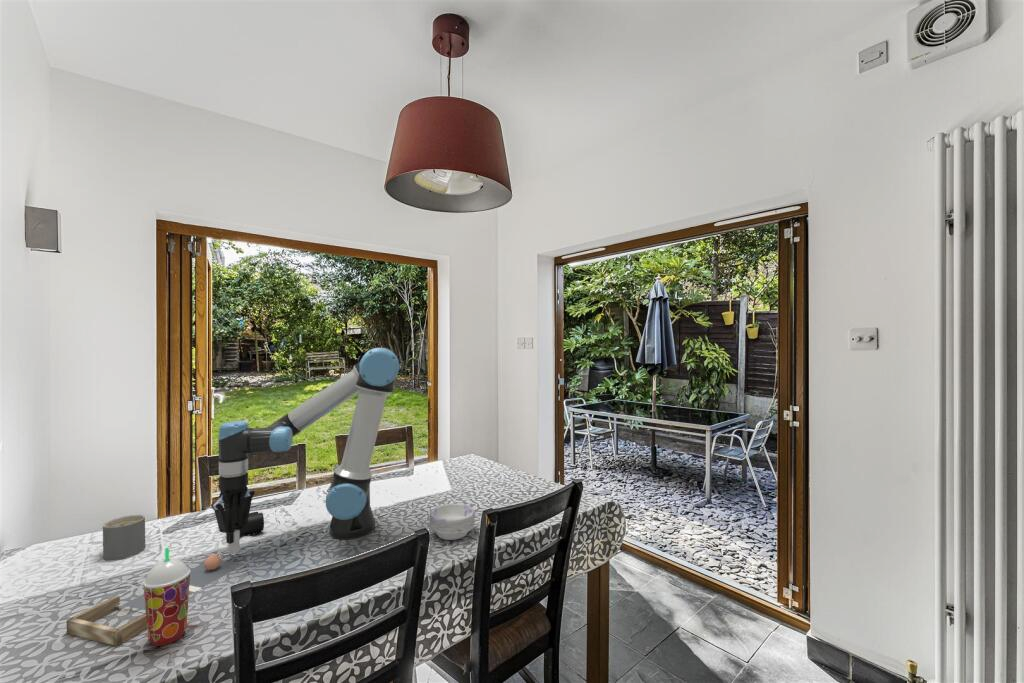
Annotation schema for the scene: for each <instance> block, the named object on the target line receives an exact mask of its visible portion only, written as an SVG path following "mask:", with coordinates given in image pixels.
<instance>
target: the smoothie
mask: <svg viewBox="0 0 1024 683" xmlns="http://www.w3.org/2000/svg"><path fill="white" fill-rule="evenodd" d="M169 548H170V547H165V548H164V560H161V561H160V562H158V563H157V564H154V566H153V567H152V568H150V570H149V572H148V573H147V575H146V576H145V578H144V580H143V581H142V586H143V594H144V596H145V607H146V610H145V613H146V618H147V629H146V630H147V638H148V639H147V640H148V641H149V642H150V643H151V645H152V646H156V647H159V646H160V647H163V646H166V645H169V643H170V644H171V643H174V642H176V641H178V639H180V638H182V636H183V635H184V633H185V630H186V629H187V627H188V613H189V598H190V597H189V596H190V595H189V583H190V572H191V571H190V570H191V568H189V566H188V565H187V563H185V562H184V561H183V560H181V559H179V558H170V549H169ZM162 645H163V646H162Z"/></svg>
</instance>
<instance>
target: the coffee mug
mask: <svg viewBox="0 0 1024 683" xmlns="http://www.w3.org/2000/svg"><path fill="white" fill-rule="evenodd" d="M145 549H146V516H145V515H142V514H130V515H124V516H120V517H115V518H113V519H111V520H108V521H106V522H104V523H103V524H102V558H103V560H105V561H119V560H123V559H127V558H131V557H134V556H136V555H139V554H140V553H142V552H144V551H145Z"/></svg>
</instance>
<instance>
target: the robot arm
mask: <svg viewBox="0 0 1024 683" xmlns="http://www.w3.org/2000/svg"><path fill="white" fill-rule="evenodd" d="M399 370H400V361H399V358H398V356H397V355H396V353H395V352H394V351H393V350H392V349H390V348H387V347H375V348H371V349H370V350H368V351H367V352H365V353H364V355H362V358H361V359H360V361H359V362H358V363H356V364H355V365H353V368H352V370H351V371H349V372H348V373H346V374H345V375H343V376H342V377H340V378H339V379H337V380H336V381H334V382H332V383H331V384H330V385H328V386H327V387H325V388H324V389H322V390H320V392H318V393H316V394H314V395H313V396H311V397H310V398H309V399H306V400H305V401H304V402H302V403H301V404H300V405H298V406H297V407H295V408H294V409H292V410H291V411H290V412H288V413H286V414H285V415H283V416H281V417H280V418H279V419H277V420H275V421H274V422H272V423H271V424H270V425H268V426H266V427H249V423H248V422H247V421H245V420H244V421H243V420H235V421H228V422H224V423H222V424H220V426H219V427H218V438H217V444H218V474H219V477H218V489H219V491H220V492H219V495H218V500H217V501H216V502H212V503H211V505H210V507H211V509H212V510H213V511H214V515H215V518H216V523H217V526H218V531H219V533H225V534H226V538H225V540H226V544H227V546H228V547H227V552H228V554H232V555H233V554H235V555H236V554H238V553H240V550H241V547H240V543H241V542H240V540H241V539H242V536H241V529H244V526H243V525H246V524H247V522H248V517H249V513H251V512H250V511H251V507H252V506H251V505H252V501H253V498H254V495H255V490H251V489H250V490H249V489H248V485H249V473H248V471H249V454H262V453H280V452H287V451H289V450H291V448H292V444H293V438H294V437H295V436H297V435H298V434H300V433H301V432H302V431H304V430H305V429H306V428H308V427H309V426H311V425H313V424H314V423H316V422H317V421H319V420H320V419H322V418H323V417H325V416H326V415H328V414H329V413H330V412H332V411H334V410H335V409H336V408H338V407H339V406H341V405H342V404H344V403H345V402H346V401H349V400H350V399H352V398H353V397H354V396H356V395H357V394H358V395H357V399H356V400H357V401H356V403H355V408H354V410H353V415H352V420H351V422H350V423H351V425H350V428H349V431H348V436H347V440H346V442H345V443H346V444H345V448H344V450H343V456H342V460H341V464H338V465H336V466H335V467H334V469H333V470H334V471H333V474H332V478H331V483H330V487H329V490H328V492H327V494H326V497H325V508H326V510H327V512H328V513H329V514H330V515H331V520H330V524H329V526H328V530H329V531H328V532H329V533H328V535H329V536H330V537H331V538H333V539H339V540H352V539H356V538H357V539H358V538H361V537H363V536H364V537H365V536H367V535H369V534H371V533H372V532H374V530H375V529H376V518H375V516H374V513H373V510H372V507H371V489H370V488H371V487H370V486H371V481H372V477H373V474H372V472H371V470H370V468H371V467H370V466H371V463H372V462H371V461H372V457H373V453H374V449H375V444H376V441H377V437H378V433H379V429H380V424H381V420H382V416H383V413H384V409H385V405H386V401H387V397H388V396H390V395H392V394H393V392H394V389H395V384H396V380H397V376H398V375H399ZM243 519H244V520H243Z"/></svg>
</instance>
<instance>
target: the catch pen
mask: <svg viewBox="0 0 1024 683" xmlns="http://www.w3.org/2000/svg"><path fill="white" fill-rule="evenodd" d="M120 600H121V599H120V595H115V596H112V597H110V598H108V599H107V600H105V601H102V602H101V603H99V604H97V605H95V606H93V607H90V608H87V609H86V610H85V611H82V612H80V613H78V614H76V615H73V616H72V617H70V618H68V619H67V620H66V634H67V633H68V634H67V635H71V634H72V635H71V636H75V635H77V636H76V637H79V636H80V638H83V637H84V638H83V639H87V640H91V641H95V642H98V643H103V644H107V645H110V644H111V645H110V646H114V645H116V646H115V647H118V646H121V643H122V644H123V643H126V640H127V641H128V640H130V639H132V638H133V637H135V636H137V635H138V634H140V633H142V632H143V631H145V630H148V629H147V618H146V614H144V613H143V615H141V616H139V617H137V618H136V619H133V620H132V621H130V622H129V623H127V624H124V625H123V626H120V627H119V628H118V627H112V626H108V625H105V624H101V623H95V622H96V621H98V620H99V619H102V618H104V617H105V616H108V615H109V614H111V613H113V612H115V611H118V610H119V609H120V607H118V606H119V605H120V604H121V603H120ZM131 637H132V638H131Z"/></svg>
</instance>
